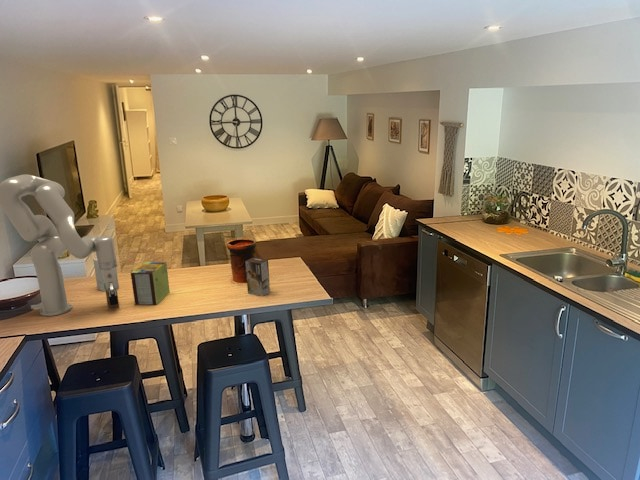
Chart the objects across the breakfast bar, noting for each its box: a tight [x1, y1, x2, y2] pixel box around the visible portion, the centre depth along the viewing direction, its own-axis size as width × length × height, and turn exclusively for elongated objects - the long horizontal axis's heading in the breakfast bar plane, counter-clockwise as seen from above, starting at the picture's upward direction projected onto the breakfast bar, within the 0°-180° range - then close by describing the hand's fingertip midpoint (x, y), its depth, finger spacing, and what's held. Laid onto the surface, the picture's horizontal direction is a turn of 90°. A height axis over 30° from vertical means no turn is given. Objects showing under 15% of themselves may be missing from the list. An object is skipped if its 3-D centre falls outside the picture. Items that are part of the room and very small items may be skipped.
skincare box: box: [93, 257, 120, 292], centre depth 234 cm, size 8×7×16 cm
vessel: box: [226, 238, 257, 285], centre depth 241 cm, size 14×14×20 cm
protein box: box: [130, 261, 171, 306], centre depth 220 cm, size 10×15×16 cm
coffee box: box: [245, 257, 271, 297], centre depth 224 cm, size 9×6×16 cm
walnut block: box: [105, 289, 120, 311], centre depth 212 cm, size 4×4×8 cm
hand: (113, 300), depth 212 cm, fingers open, 9 cm apart
